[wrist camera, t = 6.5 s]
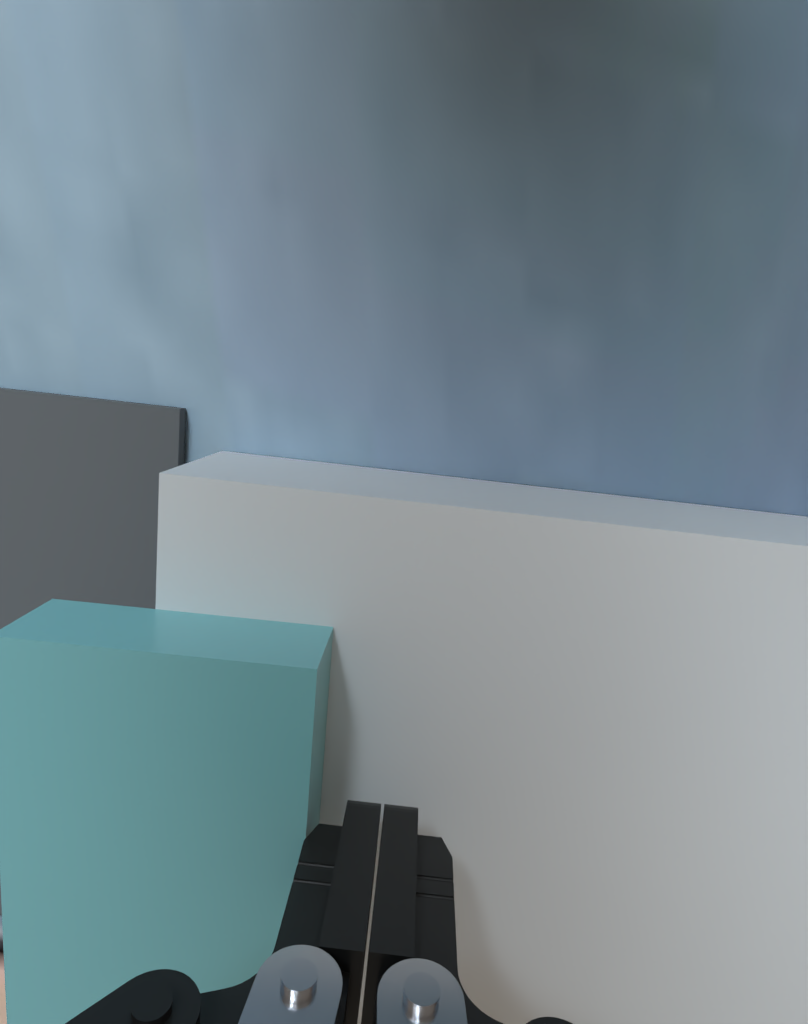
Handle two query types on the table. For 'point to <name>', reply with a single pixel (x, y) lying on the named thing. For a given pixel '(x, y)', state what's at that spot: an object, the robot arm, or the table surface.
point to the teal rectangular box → (151, 795)
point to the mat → (81, 499)
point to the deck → (547, 716)
